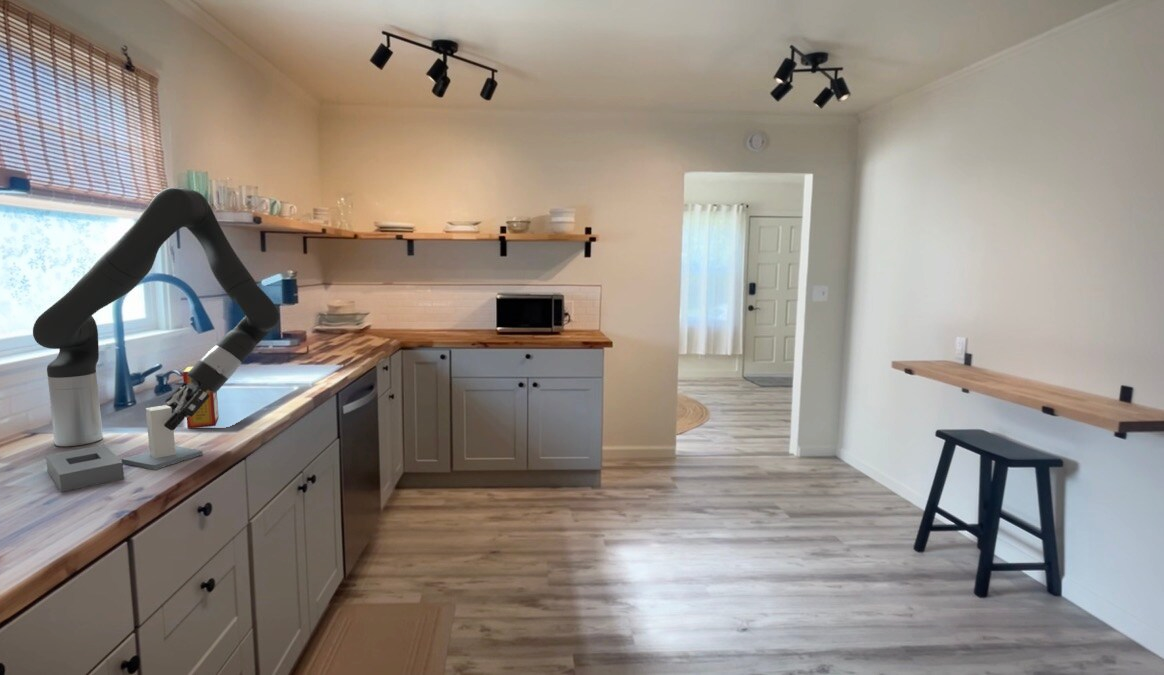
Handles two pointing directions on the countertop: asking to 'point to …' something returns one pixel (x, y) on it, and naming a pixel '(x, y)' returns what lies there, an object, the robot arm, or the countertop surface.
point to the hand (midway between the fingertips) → (162, 424)
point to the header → (84, 467)
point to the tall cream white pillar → (160, 432)
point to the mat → (152, 463)
